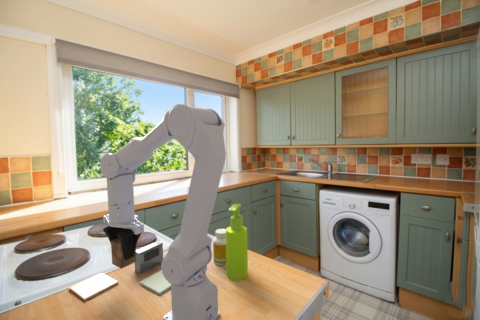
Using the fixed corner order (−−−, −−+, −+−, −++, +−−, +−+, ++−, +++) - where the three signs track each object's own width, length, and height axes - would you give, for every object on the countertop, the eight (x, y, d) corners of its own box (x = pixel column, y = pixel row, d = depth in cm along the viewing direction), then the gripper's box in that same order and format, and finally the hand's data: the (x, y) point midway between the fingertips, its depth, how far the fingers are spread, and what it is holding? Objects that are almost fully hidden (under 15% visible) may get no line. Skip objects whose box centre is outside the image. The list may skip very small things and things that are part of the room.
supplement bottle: (228, 266, 71) (228, 235, 70) (211, 264, 72) (210, 233, 71) (232, 257, 76) (232, 228, 75) (216, 256, 77) (216, 227, 76)
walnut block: (136, 261, 61) (135, 238, 60) (121, 268, 57) (120, 244, 57) (127, 257, 63) (126, 235, 62) (112, 263, 60) (110, 240, 59)
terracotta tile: (118, 283, 63) (117, 281, 63) (84, 301, 56) (84, 298, 56) (102, 274, 67) (101, 272, 67) (69, 289, 60) (69, 287, 60)
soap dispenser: (222, 280, 64) (221, 207, 62) (230, 267, 70) (230, 200, 69) (243, 284, 62) (242, 209, 60) (249, 270, 69) (249, 202, 67)
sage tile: (184, 278, 65) (184, 276, 65) (159, 295, 58) (159, 292, 58) (164, 270, 69) (164, 268, 69) (139, 284, 62) (139, 282, 62)
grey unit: (163, 261, 74) (163, 242, 73) (140, 273, 67) (139, 253, 67) (157, 259, 75) (156, 240, 75) (134, 270, 69) (133, 250, 68)
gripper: (154, 202, 58) (156, 256, 59) (120, 195, 66) (122, 242, 67) (126, 210, 52) (129, 269, 53) (93, 200, 60) (96, 252, 61)
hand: (124, 255), depth 60 cm, fingers closed on walnut block, 4 cm apart
